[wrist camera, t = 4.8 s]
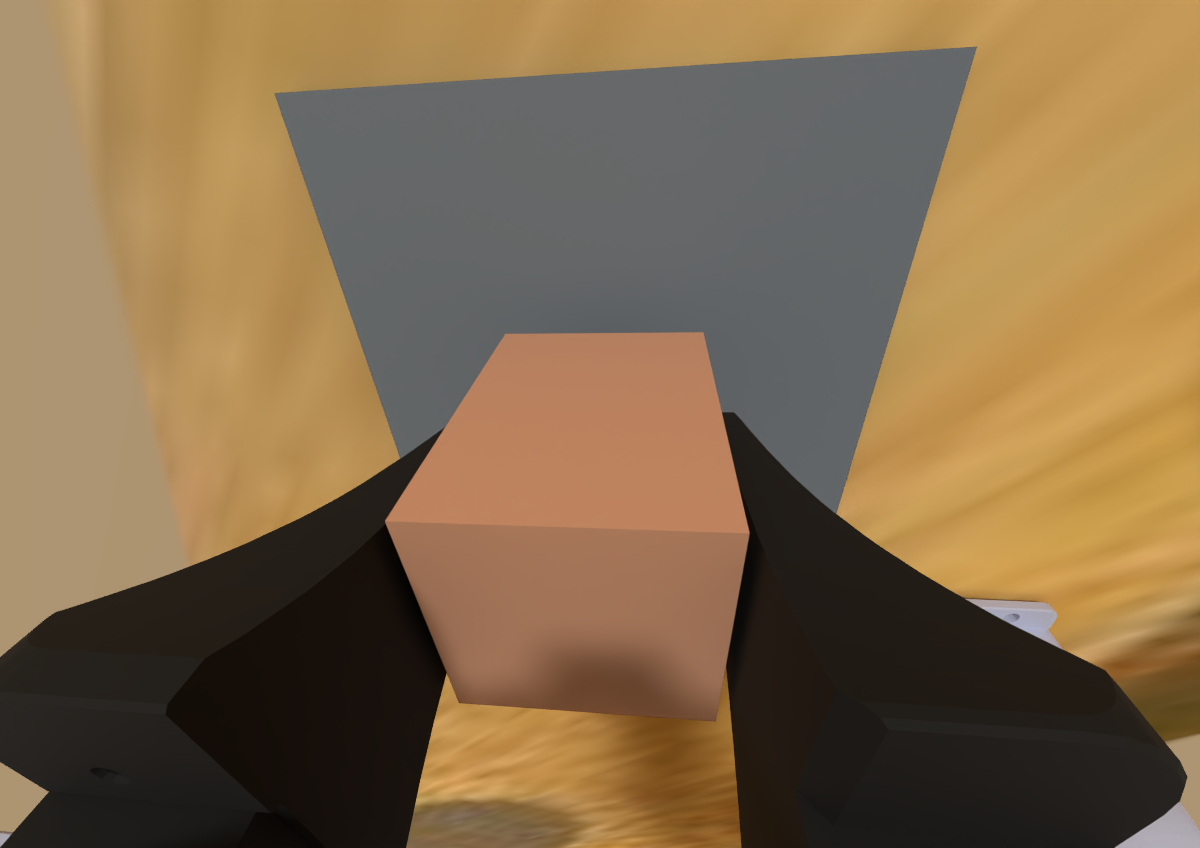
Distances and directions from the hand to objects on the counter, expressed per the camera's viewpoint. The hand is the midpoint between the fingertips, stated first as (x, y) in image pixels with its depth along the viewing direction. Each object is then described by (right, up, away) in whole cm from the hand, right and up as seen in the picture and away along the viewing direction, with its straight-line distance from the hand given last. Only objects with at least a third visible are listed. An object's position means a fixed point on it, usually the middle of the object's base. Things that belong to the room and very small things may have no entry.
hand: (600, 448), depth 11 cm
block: (0, +1, +1) cm, 2 cm away
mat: (0, +2, +3) cm, 4 cm away
